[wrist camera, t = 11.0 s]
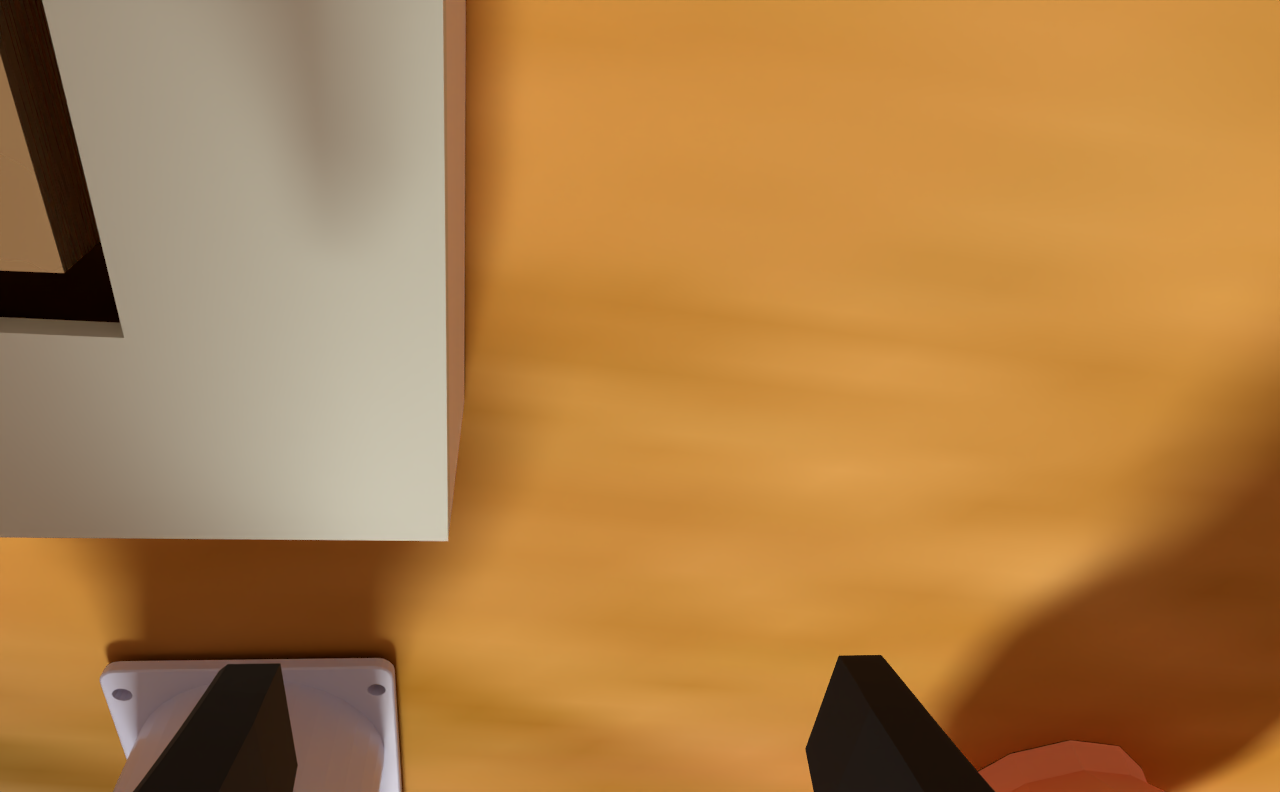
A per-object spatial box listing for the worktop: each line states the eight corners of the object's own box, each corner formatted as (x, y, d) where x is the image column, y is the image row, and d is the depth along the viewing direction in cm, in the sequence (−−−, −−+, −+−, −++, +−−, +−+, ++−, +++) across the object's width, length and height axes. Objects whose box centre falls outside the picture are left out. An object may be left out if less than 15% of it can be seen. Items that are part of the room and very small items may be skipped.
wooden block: (179, 170, 17) (64, 273, 13) (43, 162, 16) (-121, 265, 12) (122, -120, 14) (-49, -112, 10) (-42, -137, 14) (-289, -135, 10)
